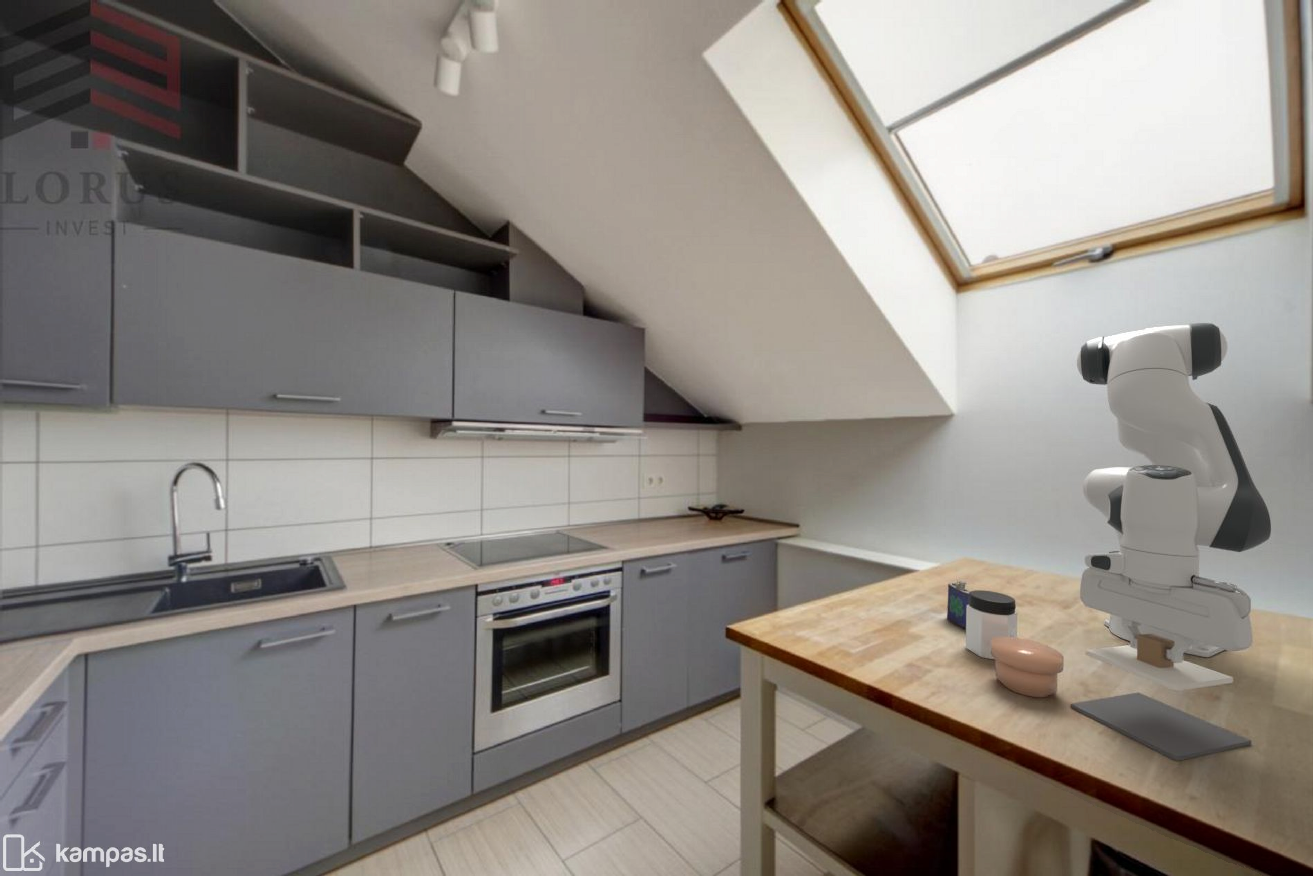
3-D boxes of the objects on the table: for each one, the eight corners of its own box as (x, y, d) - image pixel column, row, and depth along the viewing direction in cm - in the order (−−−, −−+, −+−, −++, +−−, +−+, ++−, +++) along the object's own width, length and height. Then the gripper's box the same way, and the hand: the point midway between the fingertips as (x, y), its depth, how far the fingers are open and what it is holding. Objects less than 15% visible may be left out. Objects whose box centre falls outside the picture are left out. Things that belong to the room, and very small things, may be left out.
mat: (1138, 695, 87) (1138, 692, 87) (1251, 744, 73) (1251, 740, 73) (1070, 707, 83) (1070, 703, 83) (1176, 761, 69) (1176, 756, 69)
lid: (1136, 648, 85) (1137, 621, 85) (1232, 682, 73) (1233, 650, 73) (1085, 654, 82) (1086, 626, 82) (1176, 691, 70) (1177, 658, 70)
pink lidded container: (1019, 670, 96) (1020, 634, 96) (1078, 698, 85) (1079, 659, 85) (976, 676, 93) (976, 639, 93) (1031, 706, 83) (1032, 665, 83)
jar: (1003, 665, 98) (1004, 605, 98) (959, 650, 104) (960, 594, 104) (1022, 655, 103) (1023, 598, 102) (979, 641, 109) (980, 587, 109)
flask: (980, 632, 114) (980, 586, 114) (967, 632, 114) (968, 586, 114) (954, 617, 123) (954, 575, 123) (942, 618, 123) (943, 575, 123)
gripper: (1265, 586, 68) (1263, 685, 68) (1100, 552, 88) (1099, 629, 88) (1235, 589, 67) (1233, 690, 67) (1074, 553, 87) (1072, 631, 87)
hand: (1155, 654), depth 78 cm, fingers closed on lid, 3 cm apart
